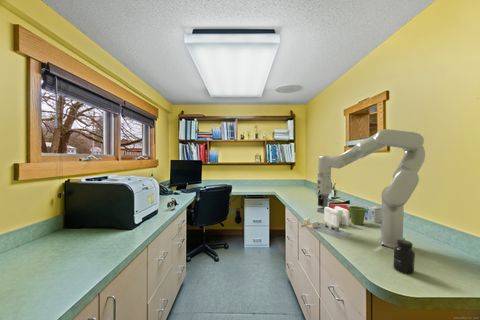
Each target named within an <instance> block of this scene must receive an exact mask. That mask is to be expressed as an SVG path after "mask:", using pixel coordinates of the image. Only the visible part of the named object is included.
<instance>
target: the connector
mask: <svg viewBox="0 0 480 320" xmlns="http://www.w3.org/2000/svg"><path fill="white" fill-rule="evenodd" d="M328 203H329V196H328V195H327V194H324V195H323V206H321V205H318V204H317V207H320V208H322V207H327V206H329V204H328Z"/></svg>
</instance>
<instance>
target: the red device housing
mask: <svg viewBox="0 0 480 320" xmlns="http://www.w3.org/2000/svg"><path fill="white" fill-rule="evenodd" d="M328 206H329V207H330V208H332V209H335V206H339V207H341V208H344V209H347V210H348V211H349V208H348V207H349V205H346V204H335V203H330V204H328ZM349 213H350V211H349Z"/></svg>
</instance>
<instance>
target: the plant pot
mask: <svg viewBox="0 0 480 320" xmlns="http://www.w3.org/2000/svg"><path fill="white" fill-rule="evenodd" d="M348 208H349V211H350V216H351V217H350V221H351V223H352V224H354V225H357V226H360V225H364V221H365V220H364V217H365V213H366V210H367V208H364V207H363V206H358V205H348Z"/></svg>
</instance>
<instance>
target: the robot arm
mask: <svg viewBox="0 0 480 320" xmlns="http://www.w3.org/2000/svg"><path fill="white" fill-rule="evenodd" d="M424 142H425V139H424V136H423V135H422V134H420V133H418V132H415V131H406V130H397V129H388V128H386V129H380V130H379V131H378V132H376V133H375V134H373V135H371V136H369V137H368V138H366V139H363V140H362V141H360V142H358V143H356V144H355V145H354V146H353V147H351V148H350V149H348V150H346V151H345V152H343V153H341V154H339V155H333V156H332V155H331V156H330V155H320V156H319V157H318V166H317V167H318V168H317V179H316V186H315V195H316V198H317V206H318V205H321V206H323V195H324V194H327V195H328V197H329V196H330V194H332V188H333V187H332V184H333V183H332V168H333V169H342V168H344V167H346V166H348V165H349V164H352V163H354V162H355V161H359V159H360V160H361V159H363V158H365V157H367V156H369V155H371V154H373V153H375V152H377V151H380V150H381V149H383V148H385V147H392V148H398V149H399V148H400V149H402V150H403V157H402V159H401V160H400V163H399V165H398V166H397V167H396V169H395V171H394V172H393V174H392V181H391V182H390V184H389V185H388V186H386V187H384V188H383V189H382V192H381V208H382V212H381V222H380V223H381V224H380V225H381V227H380V232H381V233H380V234H381V235H380V237H379V238H377V242H379V243H381V246H383V247H387V248H389V249H390V248H391V249H394V247H395V246H398V245H397V241H398V240H406V238H405V237H404V205H406V203H407V202H408V201H409V200H410V198H411V197H412V194H413V193H414V191H415V190H416V188H417V186H418V184H419V182H420V176H419V174H418V173H419V172H420V170H421V167H422V166H423V163H424V162H425V158H426V150H425V147H424V146H423V145H424ZM321 206H320V207H321ZM412 248H413V243H412Z"/></svg>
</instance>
